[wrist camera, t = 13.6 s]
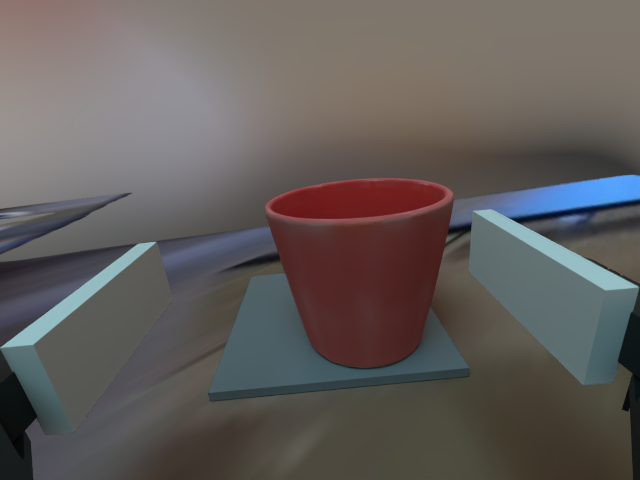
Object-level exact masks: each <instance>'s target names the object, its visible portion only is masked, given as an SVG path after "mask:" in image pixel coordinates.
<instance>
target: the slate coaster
mask: <svg viewBox="0 0 640 480" xmlns="http://www.w3.org/2000/svg"><path fill="white" fill-rule="evenodd" d="M466 376H469V367H468V365H467V363H466V362H465V360H464V359H463V357H462V355H461V354H460V352H459V351H458V349H457V347H456V346H455V344H454V343H453V341H452V340H451V338H450V336H449V335H448V333H447V332H446V330H445V328H444V327H443V325H442V324H441V322H440V320H439V319H438V317H437V316H436V314H435V312H434V311H433V309H432V308H431V306H430V309H429V312H428V316H427V319H426V323H425V326H424V330H423V334H422V338H421V340H420V343H419V344H418V346H417V348H416V349H415V350H414V351H413V352H412V353H411V354H410V355H408V356H407V357H405V358H404V359H402V360H400V361H398V362H395V363H392V364H389V365H385V366H380V367H370V368H357V367H350V366H345V365H341V364H338V363H335V362H332V361H330V360H328V359H326V358H325V357H324V356H323V355H321V354H320V353H318V352H317V351H316V350H315V349H314V348H313V346H312V345H311V343H310V341H309V338H308V336H307V333H306V331H305V328H304V325H303V323H302V320H301V317H300V315H299V312H298V309H297V306H296V304H295V301H294V298H293V295H292V292H291V289H290V286H289V283H288V280H287V277H286V274H285V273H281V274H272V275H262V276H252V277H251V280H250V283H249V285H248V288H247V291H246V293H245V296H244V299H243V301H242V304H241V307H240V309H239V312H238V315H237V317H236V320H235V323H234V325H233V328H232V331H231V333H230V336H229V339H228V341H227V344H226V347H225V349H224V352H223V355H222V357H221V360H220V363H219V365H218V368H217V371H216V373H215V376H214V379H213V381H212V384H211V387H210V389H209V392H208V395H209V398H210V401H217V400H227V399H238V398H248V397H258V396H269V395H279V394H289V393H300V392H310V391H321V390H331V389H341V388H352V387H362V386H372V385H383V384H393V383H403V382H414V381H424V380H434V379H445V378H455V377H466Z"/></svg>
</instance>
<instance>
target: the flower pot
mask: <svg viewBox="0 0 640 480" xmlns="http://www.w3.org/2000/svg"><path fill="white" fill-rule="evenodd" d="M453 201H454V194H453V192H452V191H451V190H450V189H449V188H447V187H445V186H443V185H440V184H436V183H433V182H428V181H422V180H412V179H398V178H376V179H355V180H345V181H339V182H331V183H324V184H319V185H314V186H309V187H304V188H300V189H296V190H293V191H289V192H286V193H284V194H282V195H279V196H277V197H275V198H274V199H272V200H270V201H269V202H268V203H267V204H266V206H265V213H266V217H267V220H268V223H269V226H270V229H271V232H272V235H273V238H274V241H275V244H276V247H277V250H278V253H279V256H280V259H281V262H282V265H283V268H284V271H285V274H286V277H287V280H288V283H289V286H290V289H291V292H292V295H293V298H294V301H295V304H296V306H297V309H298V312H299V315H300V317H301V320H302V323H303V325H304V328H305V331H306V333H307V336H308V338H309V341H310V343H311V345H312V346H313V348H314V349H315V350H316V351H317V352H318V353H320V354H321V355H323V356H324V357H325V358H326V359H328V360H330V361H332V362H335V363H338V364H341V365H345V366H350V367H357V368H370V367H380V366H385V365H389V364H392V363H395V362H398V361H400V360H402V359H404V358H405V357H407V356H408V355H410V354H411V353H412V352H413V351H414V350H415V349H416V348H417V346H418V344H419V343H420V340H421V338H422V334H423V330H424V326H425V323H426V319H427V316H428V312H429V309H430V305H431V301H432V297H433V293H434V290H435V285H436V281H437V277H438V272H439V268H440V264H441V259H442V255H443V251H444V246H445V242H446V237H447V233H448V228H449V223H450V218H451V213H452V208H453Z"/></svg>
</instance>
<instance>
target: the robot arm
mask: <svg viewBox="0 0 640 480" xmlns="http://www.w3.org/2000/svg"><path fill="white" fill-rule="evenodd" d="M469 272H470V273H471V274H472V275H473V276H474V277H475V278H476V279H477V280H478V281H479V282H480V283H481V284H482V285H483V286H484V287H485V288H486V289H487V290H488V291H489V292H490V293H491V294H492V295H493V296H494V297H495V298H496V299H497V300H498V301H499V302H500V303H501V304H502V305H503V306H504V307H505V308H506V309H507V310H508V311H509V312H510V313H511V314H512V315H513V316H514V317H515V318H516V319H517V320H518V321H519V322H520V323H521V324H522V325H523V326H524V327H525V328H526V329H527V330H528V331H529V332H530V333H531V334H532V335H533V336H534V337H535V338H536V339H537V340H538V341H539V342H540V343H541V344H542V345H543V346H544V347H545V348H546V349H547V350H548V351H549V352H550V353H551V354H552V355H553V356H554V357H555V358H556V359H557V360H558V361H559V362H560V363H561V364H562V365H563V366H564V367H565V368H566V369H567V370H568V371H569V372H570V373H571V374H572V375H573V376H574V377H575V378H576V379H577V380H578V381H579V382H580V383H581V384H582V385H592V384H603V383H613V382H614V378H615V375H616V371H617V368H618V364H619V363H620V364H622V365H623V366H624V367H625V368H627V369H628V370H629V371H630V372H632V373H633V374H632V377H631V381H630V384H629V388H628V391H627V394H626V398H625V401H624V404H623V408H622V410H625V411H628V410H629V408H630V419H631V441H632V463H633V480H640V284H639V283H637V282H635V281H633V280H631V279H629V278H627V277H625V276H620V274H619V273H617V272H615V271H613V270H611V269H608V267H606V266H604V265H602V264H600V263H598V262H596V261H594V260H591V259H588V258H585V257H582V256H579V255H577V254H575V253H573V252H572V251H570V250H568V249H566V248H564V247H562V246H560V245H558V244H556V243H554V242H553V241H551V240H549V239H547V238H545V237H543V236H541V235H539V234H537V233H535V232H534V231H532V230H530V229H528V228H526V227H524V226H522V225H520V224H518V223H516V222H515V221H513V220H511V219H509V218H507V217H505V216H503V215H501V214H499V213H497V212H495V211H494V210H492V209H490V210H480V211H473V217H472V231H471V245H470V260H469ZM172 301H173V297H172V294H171V290H170V286H169V283H168V279H167V276H166V272H165V269H164V265H163V262H162V258H161V255H160V251H159V248H158V244H157V242H150V243H140V244H137V245H136V246H135V247H133V248H132V249H131V250H129V251H128V252H127V253H125V254H124V255H123V256H121V257H120V258H119V259H117V260H116V261H115V262H113V263H112V264H111V265H109V266H108V267H107V268H106V269H104V270H103V271H102V272H100V273H99V274H98V275H96V276H95V277H94V278H92V279H91V280H90V281H88V282H87V283H86V284H84V285H83V286H82V287H80V288H79V289H78V290H76V291H75V292H74V293H72V294H71V295H70V296H68V297H67V298H66V299H64V300H63V301H62V302H60V303H59V304H58V305H56V306H55V307H54V308H52V309H51V310H50V311H48V312H47V313H46V314H44V315H43V316H42V317H40V318H39V319H38V320H36V321H35V322H34V323H32V324H31V325H30V326H28V327H27V328H26V329H24V330H23V331H22V332H20V333H19V334H18V335H16V336H15V337H14V338H12V339H11V340H10V341H8V342H7V343H6V344H4V345H3V346H2V347H0V480H33V469H32V454H31V441H30V440H29V438H28V436H27V434H26V432H25V430H26V429H27V428H28V426H29V425H30V424H31V423H32V422H33V421H34V420H35V419H36V418H37V420H38V422H39V423H40V425H41V427H42V429H43V431H44V433H45V435H52V434H63V433H74V432H76V430H77V429H78V428H79V426H80V425H81V423H82V422H83V421H84V419H85V418H86V417H87V415H88V414H89V413H90V411H91V410H92V409H93V407H94V406H95V405H96V403H97V402H98V401H99V399H100V398H101V396H102V395H103V394H104V392H105V391H106V390H107V388H108V387H109V386H110V384H111V383H112V382H113V380H114V379H115V378H116V376H117V375H118V374H119V372H120V371H121V369H122V368H123V367H124V365H125V364H126V363H127V361H128V360H129V359H130V357H131V356H132V355H133V353H134V352H135V351H136V349H137V348H138V347H139V345H140V344H141V342H142V341H143V340H144V338H145V337H146V336H147V334H148V333H149V332H150V330H151V329H152V328H153V326H154V325H155V324H156V322H157V321H158V320H159V318H160V317H161V315H162V314H163V313H164V311H165V310H166V309H167V307H168V306H169V305H170V303H171V302H172Z"/></svg>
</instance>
